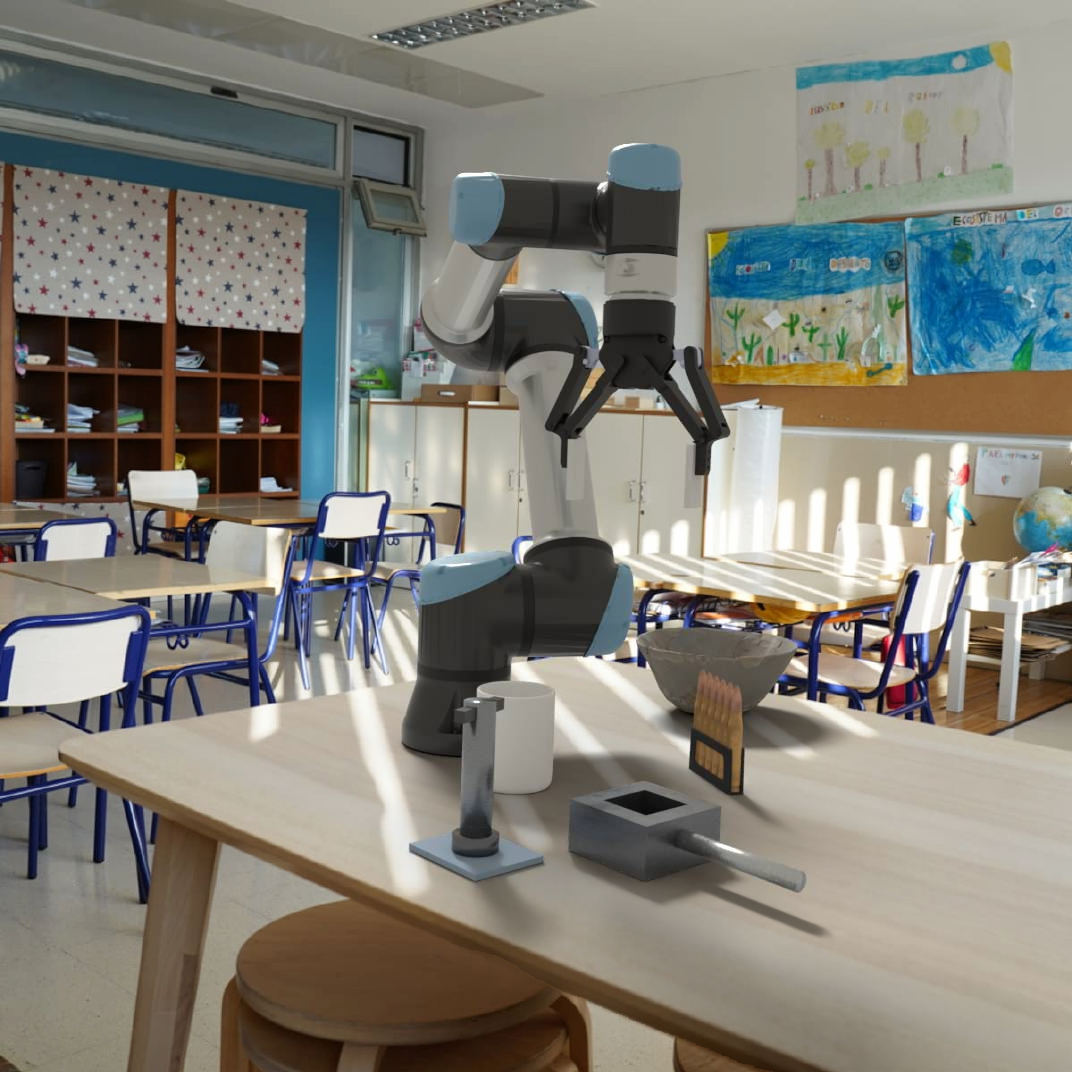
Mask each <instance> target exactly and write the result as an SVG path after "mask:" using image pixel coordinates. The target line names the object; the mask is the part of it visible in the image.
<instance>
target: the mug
mask: <svg viewBox="0 0 1072 1072" xmlns="http://www.w3.org/2000/svg"><path fill="white" fill-rule="evenodd" d="M493 696H497V697H503V698H504V709H503V710H501V711H498V712H496V731H495V760H494V789H493V793H499V794H503V795H504V794H505V795H527V794H528V795H529V794H533V793H535V794H536V793H539V792H541V791H544V790H545V789H547V788H548V787H550V785H551V783H552V779H553V774H554V773H553V769H554V745H555V744H554V741H555V739H554V737H555V715H556V714H555V710H556V706H555V705H556V690H555V688H554V687H553V686H550V685H548V684H544V683H540V682H534V681H523V680H511V681H498V682H491V683H486V684H482V685H480V686H479V687H478V688H477V697H483V698H490V697H493Z"/></svg>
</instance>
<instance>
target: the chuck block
mask: <svg viewBox="0 0 1072 1072" xmlns="http://www.w3.org/2000/svg"><path fill="white" fill-rule="evenodd" d="M568 816H569V819H568V822H569V823H568V846H567V847H568V852H569V851H570V852H573V853H574V854H576V855H580V856H582V857H585V858H586V859H589V860H591V861H594V862H596V863H599V864H601V865H603V866H606V867H609V868H611V869H613V870H615V871H618V872H620V873H623V874H625V875H628V876H629V877H633V878H635V879H637V880H640V881H642V882H647V881H650V880H653V879H656V878H660V877H664V876H666V875H670V874H672V873H677V872H679V871H682V870H685V869H689V868H691V867H695V866H699V865H701V864H704V863H707V862H711V861H712V862H714V863H717V864H720V865H722V866H725V867H727V868H730V869H732V870H735V871H737V872H741V873H743V874H745V875H749V876H751V877H754V878H757V879H759V880H762V881H765V882H767V883H769V884H772V885H775V886H778V887H781V888H784V889H786V890H788V891H790V892H791V891H792V892H794V893H797V894H799V893H801V892H802V891H803V890H804V889H805V887H806V884H807V874H806V873H805V872H804V871H802V870H799V869H796V868H794V867H791V866H788V865H787V864H786V865H785V864H783V863H780V862H777V861H775V860H772V859H769V858H766V857H763V856H760V855H758V854H755V853H752V852H750V851H748V850H747V851H746V850H744V849H741V848H738V847H735V846H734V845H733V846H732V845H729V844H727V843H724V842H721V819H722V805H719V804H716V803H713V802H709V801H708V800H704V799H701V798H698V797H695V796H693V795H689V794H685V793H684V792H679V791H678V790H674V789H670V788H668V787H664V786H662V785H658V784H655V783H653V782H650V781H647V780H641V781H636V782H633V783H629V784H625V785H620V786H616V787H613V788H609V789H608V788H607V789H605V790H600V791H597V792H596V791H595V792H591V793H587V794H582V795H579V796H576V797H575V796H574V797H570V798H569V815H568Z"/></svg>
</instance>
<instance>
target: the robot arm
mask: <svg viewBox="0 0 1072 1072" xmlns="http://www.w3.org/2000/svg"><path fill="white" fill-rule="evenodd" d="M681 161H682V160H681V156H680V153H679V152H678V151H677V149H675V148H673V147H672V146H668V145H666V144H659V143H646V142H644V143H641V142H640V143H639V142H637V143H629V144H628V143H627V144H622V145H618V146H616V147H614V148H613V149H612V150H611V151H610V154H609V156H608V164H607V171H606V173H605V178H606V179H607V181H603V180H602V181H600V180H597V181H596V180H586V179H572V178H570V179H569V178H556V177H555V178H553V177H538V176H537V177H536V176H525V175H516V174H515V175H513V174H503V173H495V172H492V171H489V172H488V171H485V172H463V173H460V174H458V175H456V177H455V178H454V179H453V181H452V183H451V188H450V193H449V198H448V199H449V201H448V229H449V234H450V236H451V239H452V240H453V243H452V245H451V248H450V250H449V253H448V255H447V258H446V260H445V263H444V265H443V268H442V271H441V273H440V275H439V277H437V278H436V279H435V280H433V281H432V282H431V283H430V285H429V286H428V287H427V288H426V290H425V292H424V294H423V296H422V300H421V303H420V305H419V323H420V326H421V329H422V332H423V334H424V336H425V338H426V340H427V341H428V343H429V344H430V345H431V347H433V349H434V350H435V351H436V352H437V353H439V354H440V356H442V357H443V358H444V359H446V360H448V361H449V362H451V363H453V364H455V365H456V366H459V367H461V368H463V369H466V370H471V371H477V372H490V373H491V372H492V373H494V372H495V373H504V381H505V385H506V387H507V389H508V390H509V392H510V393H512V394H514V396H515V395H516V396H517V402H518V410H519V419H520V429H521V438H522V449H523V458H524V459H523V460H524V468H525V469H524V470H525V477H526V478H525V479H526V486H527V487H526V488H527V489H526V490H527V496H528V497H527V498H528V506H529V507H528V508H529V509H528V510H529V515H530V516H529V517H530V527H531V537H532V544H531V546H529V548H528V549H526V550H525V552H524V554H523V556H522V563H517V560H516V559H515V556H514V554H513V553H512V552H510V551H505V550H491V551H490V550H489V551H487V550H482V551H470V552H464V553H457V554H451V555H444V556H441V557H438V558H435V559H432V560H430V561H428V562H427V563H426V564H425V565H424V566H423V567H422V569H421V571H420V574H419V575H420V576H419V586H418V596H417V597H416V604H418V619H417V620H418V621H417V623H418V628H417V631H418V632H417V660H416V661H417V662H416V664H417V665H416V668H417V669H416V680H415V684H414V687H413V690H412V692H411V694H410V695H411V696H410V699H409V703H408V705H407V708H406V712H405V715H404V717H403V719H402V721H401V742H402V743H403V744H404V745H406V747H409V748H411V749H414V750H415V751H420V752H424V753H428V754H436V755H443V756H454V757H455V756H459V757H462V741H463V724H462V723H457V722H454V710H456V709H459V708H462V707H464V700H465V699H467V698H474V697H477V688H478V687H479V686H480V685H482V684H486V683H491V682H498V681H512V661H513V658H520V657H521V658H532V657H533V658H536V657H537V658H541V657H543V658H549V657H550V658H551V657H553V658H555V657H558V658H559V657H561V658H562V657H568V658H569V657H582V658H586V659H587V658H588V657H592V656H593V657H594V656H608V655H612V654H614V653H616V652H617V651H618V650H620V648H621V647H622V646H623V644H624V642H625V640H626V638H627V635H628V632H629V630H630V626H631V621H632V615H633V609H634V608H633V607H634V597H635V595H634V592H635V583H634V582H635V581H634V575H633V571H632V570H631V567H630V565H628V564H627V563H623V562H617V563H616V561H615V557H614V550H613V547H612V545H611V544H610V542H609V541H607V540H606V539H604V538H603V537H601V536H600V533H599V526H598V525H599V524H598V519H597V511H596V504H595V503H596V502H595V495H594V487H593V481H592V473H591V466H590V465H591V464H590V457H589V456H590V454H589V448H588V441H587V434H586V427H587V426H588V425H589V424H590V422H591V421H592V420H593V418H595V416H596V415H597V414H598V413H599V411H600V410H601V409H602V408H603V407H604V405H605V403H607V401H608V400H609V399H610V398H611V397H612V395H613V394H614V393H616V392H617V391H618V390H631V391H633V390H644V391H654V390H655V391H656V393H658V394H660V395H661V397H662V398H663V399H664V401H665V402H666V404H667V405H668V406H669V408H670V410H672V412H673V413H674V415H675V416H676V417H677V419H678V420H679V422H680V423H681V424H682V425H683V427H684V428H685V430H686V431H687V433H688V434H689V436H690V437H691V438H692V439H693V441H692V444H691V443H688V444H686V450H685V451H686V452H685V470H684V471H685V473H684V474H685V475H684V497H683V498H684V499H683V501H684V502H683V508H684V509H694V508H695V509H696V508H697V509H698V508H701V507H702V506H701V505H702V485H703V476H704V477H705V476H709V475H710V473H711V469H712V467H711V466H712V465H711V464H712V447H713V444H714V443H715V442H717V441H720V440H722V439H727V438H729V437H730V435H731V429H730V426H729V424H728V422H727V419H726V417H725V414H724V413H723V412H724V411H723V410H722V408H721V405H720V403H719V400H718V397H717V395H716V393H715V390H714V388H713V386H712V383H711V381H710V379H709V377H708V373H707V371H706V368H705V356H704V355H705V354H704V350H703V348H701V347H700V346H692V345H687V346H686V347H684V348H678V349H677V348H676V346H675V343H674V342H675V335H676V314H677V313H676V312H677V310H676V308H677V307H676V305H675V303H674V302H673V301H671V298H674V297H675V296H677V291H678V289H677V288H678V286H677V285H678V254H679V253H678V252H679V251H678V249H679V233H680V211H681V210H680V209H681V189H682V187H683V181H682V169H681V166H682V165H681V164H682V163H681ZM523 248H530V249H533V248H534V249H552V250H564V251H565V250H566V251H567V250H568V251H569V250H570V251H583V252H584V251H585V252H590V253H591V254H593V255H596V256H601V257H602V256H603V257H605V259H604V260H605V261H604V264H605V265H604V280H603V281H604V284H603V286H604V287H603V288H604V289H603V294H605V296H607V297H609V300H606V301H605V303H603V305H602V306H603V309H602V339H603V342H602V345H601V348H600V344H599V341H598V340H599V335H600V333H599V327H598V320H597V316H596V313H595V311H594V308H593V306H592V304H591V302H590V301H589V300H588V298H587V297H586V296H585V295H583V294H581V293H579V292H575V291H565V290H562V289H558V288H551V289H549V290H546V289H532V288H531V289H529V288H516V287H515V288H511V287H509V288H508V287H503V286H504V283H505V282H506V281H507V278H508V276H509V274H510V272H511V270H512V269H513V267H514V265H515V263H516V261H517V259H518V257H519V256H520V253H521V251H522V250H523ZM677 361H678V363H679V365H680V367H681V368H682V369H684V371H685V374H686V378H687V379H688V382H689V384H690V387H691V389H692V392H693V394H694V396H695V399H696V401H697V403H698V406H699V408H700V411H701V413H702V416H703V419H704V420H705V422H704V421H703V419H702V418H701V416H700V414H699V413H698V412H697V411H696V410H695V408H694V407H693V406H692V404H691V402H690V401H689V400H688V398H687V397H686V396H685V394H684V393H683V392H682V390H681V388H680V387H679V384H678V383H677V381H676V379H674V377H673V376H672V374H671V373H670V371H671V370H672V369H673V367H674V366H675V364H676V363H677ZM598 362H600V364H601V366H602V367H603V369H604V371H603V372H602V374H601V375H600V376H599V377H598V379H597V380H596V381H595V384H594V386H593V388H592V389H591V390H590V392H589V393H588V394H587V395H586V396H585V397H584V398H583V400H582V392H583V390H584V388H585V387H586V384H587V382H588V380H589V378H590V377H591V373H592V372H593V371H594V370H595V368H596V366H597V364H598Z"/></svg>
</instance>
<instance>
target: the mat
mask: <svg viewBox="0 0 1072 1072" xmlns="http://www.w3.org/2000/svg"><path fill="white" fill-rule="evenodd" d="M451 848H452V832H450V833H445V834H442V835H437V836H434V837H429V838H426V839H420V840H416V841H413V842H408V850H410V851H411V852H413V853H415V854H418V855H419V856H422V857H424V858H426V859H428V860H430V861H432V862H434V863H437V864H439V865H440V866H442V867H445V868H447V869H449V870H451V871H453V872H455V873H457V874H459V875H461V876H464V877H466V878H467V879H470V880H472V881H474V882H478V881H480V880H481V881H482V880H484V879H485V880H486V879H487V878H491V877H492V878H493V877H495V876H499V875H502V874H503V875H504V874H506V873H509V872H513V871H516V870H520V869H523V868H527V867H530V866H535V865H538V864H541V863H544V861H545V860H544V859H545V857H544V855H543V854H541V853H540V852H539V853H538V852H536V851H534V850H532V849H529V848H527V847H524V846H522V845H519V844H517V843H515V842H512V841H511V840H509V839H506V838H504V837H501V836H499V851H498V853H496V854H495V855H492V856H488V857H481V858H473V857H464V856H460V855H457V854H455V853H454V852H453V851H452V849H451Z"/></svg>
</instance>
